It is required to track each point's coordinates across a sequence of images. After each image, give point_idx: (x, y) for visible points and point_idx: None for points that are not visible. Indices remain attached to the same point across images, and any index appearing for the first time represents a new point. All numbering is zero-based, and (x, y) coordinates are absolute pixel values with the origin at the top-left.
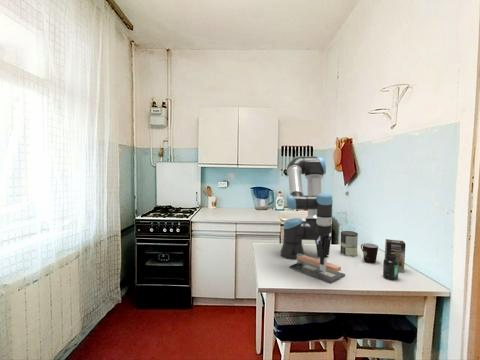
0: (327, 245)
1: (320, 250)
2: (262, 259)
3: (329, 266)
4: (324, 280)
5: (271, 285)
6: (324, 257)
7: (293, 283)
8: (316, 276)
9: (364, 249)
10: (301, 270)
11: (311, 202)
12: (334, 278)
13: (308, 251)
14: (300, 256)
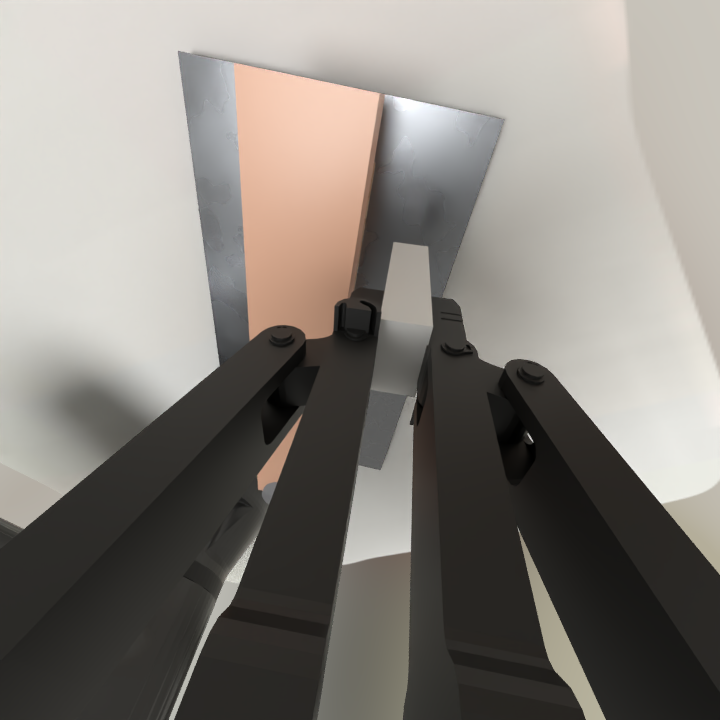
0: (177, 516)
1: (680, 554)
2: (366, 549)
3: (357, 224)
4: (471, 204)
5: (707, 462)
6: (454, 345)
7: (626, 382)
8: (442, 292)
9: None
10: (397, 406)
11: None
12: (386, 120)
13: (82, 449)
14: None
